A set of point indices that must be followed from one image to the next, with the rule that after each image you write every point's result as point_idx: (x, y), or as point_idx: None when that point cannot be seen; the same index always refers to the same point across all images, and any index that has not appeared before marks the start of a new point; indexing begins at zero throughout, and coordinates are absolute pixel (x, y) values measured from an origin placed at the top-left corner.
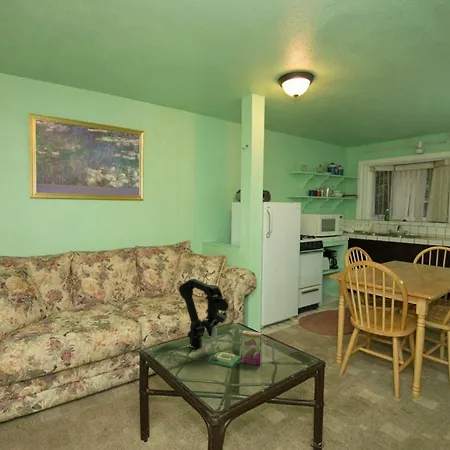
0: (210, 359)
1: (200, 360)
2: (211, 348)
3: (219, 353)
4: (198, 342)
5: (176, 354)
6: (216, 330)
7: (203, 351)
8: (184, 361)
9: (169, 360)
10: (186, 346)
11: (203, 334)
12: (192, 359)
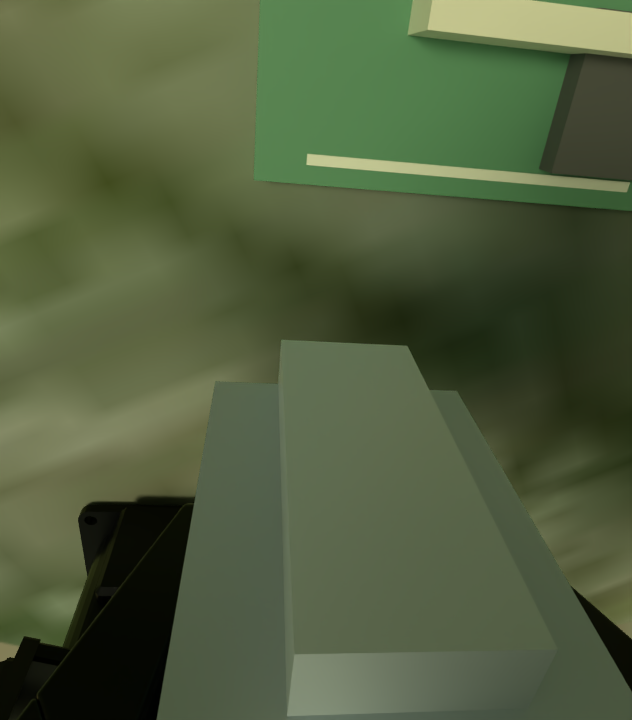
0: (616, 193)
1: (567, 338)
2: (88, 366)
3: (312, 130)
4: None
5: None
6: (373, 539)
7: None
8: (621, 483)
9: (611, 597)
10: None
11: (20, 662)
12: (552, 434)
